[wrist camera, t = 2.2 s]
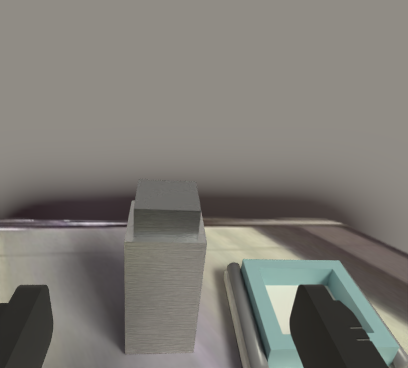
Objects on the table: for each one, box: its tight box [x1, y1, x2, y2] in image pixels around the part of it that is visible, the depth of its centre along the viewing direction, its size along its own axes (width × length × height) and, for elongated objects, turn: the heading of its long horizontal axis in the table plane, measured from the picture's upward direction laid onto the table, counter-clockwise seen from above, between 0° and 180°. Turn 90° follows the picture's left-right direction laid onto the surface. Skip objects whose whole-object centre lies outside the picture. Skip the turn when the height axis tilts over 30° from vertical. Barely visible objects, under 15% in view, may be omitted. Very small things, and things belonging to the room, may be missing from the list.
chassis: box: [224, 259, 408, 368], centre depth 28 cm, size 12×11×3 cm
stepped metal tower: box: [124, 179, 207, 354], centre depth 25 cm, size 5×5×12 cm
